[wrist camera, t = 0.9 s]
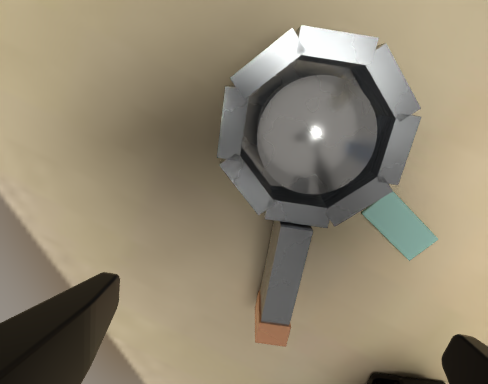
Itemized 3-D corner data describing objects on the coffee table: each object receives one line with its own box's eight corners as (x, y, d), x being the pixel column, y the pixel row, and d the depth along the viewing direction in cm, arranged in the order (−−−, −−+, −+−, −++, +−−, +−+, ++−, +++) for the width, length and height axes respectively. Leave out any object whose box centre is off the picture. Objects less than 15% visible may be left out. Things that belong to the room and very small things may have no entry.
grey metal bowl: (361, 213, 20) (383, 239, 17) (215, 192, 20) (207, 213, 17) (411, 53, 17) (450, 45, 14) (236, 25, 17) (231, 10, 13)
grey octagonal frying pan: (332, 318, 22) (345, 354, 19) (202, 300, 22) (195, 334, 19) (415, 53, 16) (452, 46, 13) (236, 25, 16) (233, 11, 13)
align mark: (436, 237, 21) (438, 239, 21) (408, 259, 21) (409, 260, 21) (390, 188, 20) (391, 189, 19) (361, 212, 20) (362, 214, 20)
